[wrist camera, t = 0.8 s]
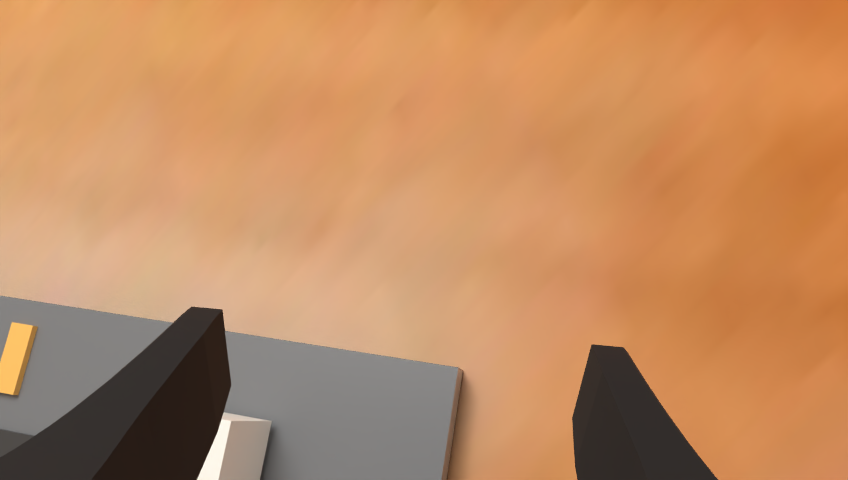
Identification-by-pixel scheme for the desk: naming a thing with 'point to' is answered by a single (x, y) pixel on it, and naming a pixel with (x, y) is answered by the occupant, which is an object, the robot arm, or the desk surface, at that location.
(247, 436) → the fader tab
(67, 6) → the desk surface
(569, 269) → the desk surface
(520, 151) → the desk surface
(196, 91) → the desk surface
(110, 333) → the board
